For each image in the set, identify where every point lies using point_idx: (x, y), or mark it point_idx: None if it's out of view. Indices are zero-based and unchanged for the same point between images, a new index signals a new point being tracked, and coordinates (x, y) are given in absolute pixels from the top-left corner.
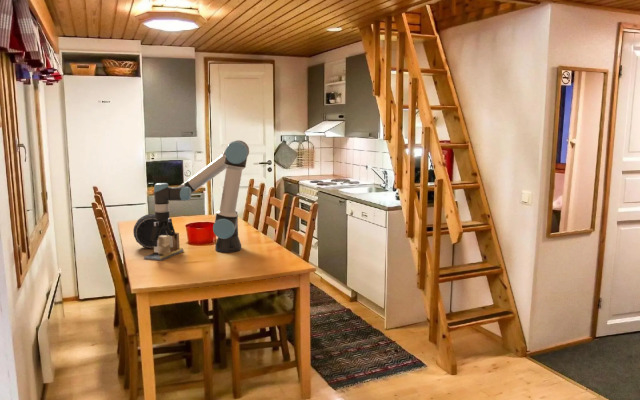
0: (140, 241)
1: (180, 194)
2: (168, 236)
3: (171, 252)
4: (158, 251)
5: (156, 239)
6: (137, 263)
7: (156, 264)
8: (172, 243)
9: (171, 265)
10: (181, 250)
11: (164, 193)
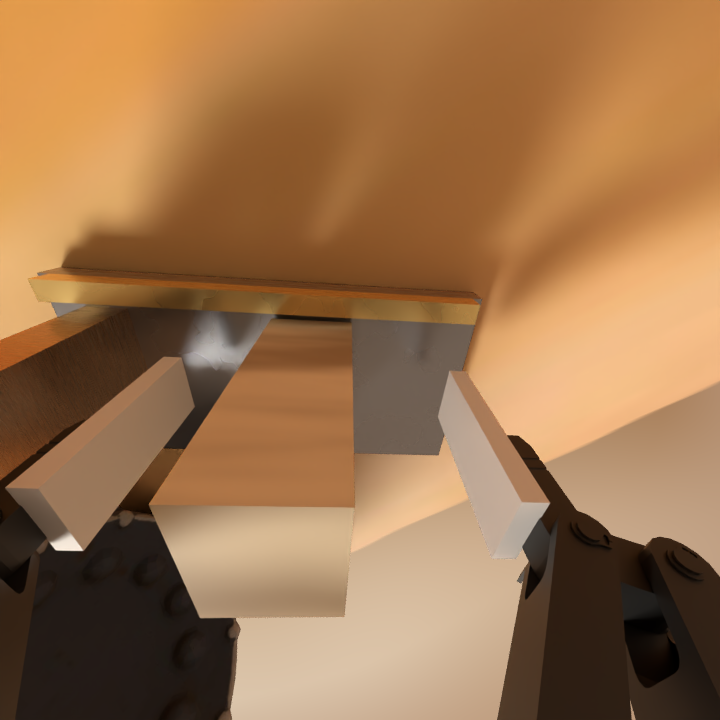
0: (226, 619)
1: None
2: (204, 494)
3: (285, 294)
4: (466, 377)
5: (610, 544)
6: (554, 423)
7: (603, 266)
8: (135, 384)
9: (685, 33)
10: (84, 274)
11: None
